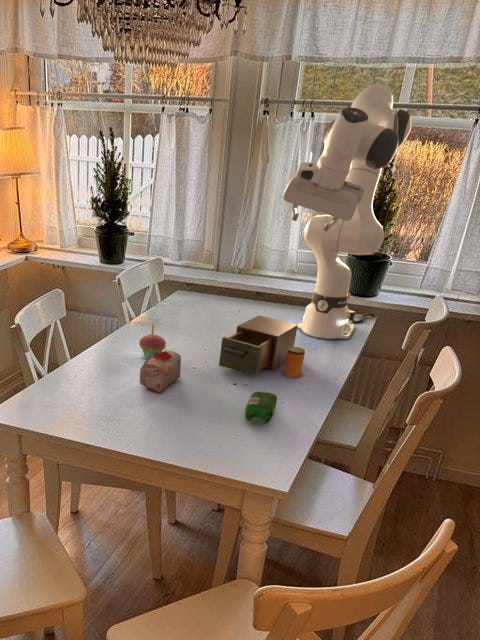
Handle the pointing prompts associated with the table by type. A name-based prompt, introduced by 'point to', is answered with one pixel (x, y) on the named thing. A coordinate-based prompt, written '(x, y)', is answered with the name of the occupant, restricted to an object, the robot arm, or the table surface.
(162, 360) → the food item
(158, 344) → the cupcake
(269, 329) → the cabinet
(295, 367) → the cookie roll
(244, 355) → the drawer
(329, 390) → the table surface
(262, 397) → the snack package
